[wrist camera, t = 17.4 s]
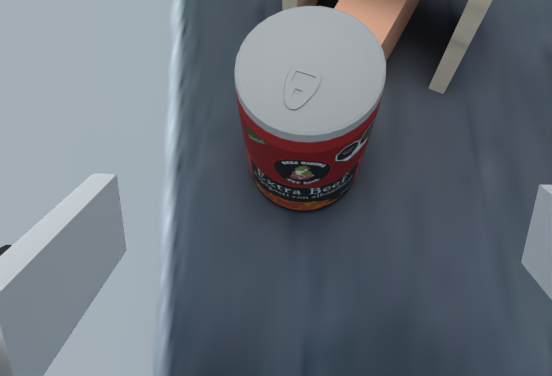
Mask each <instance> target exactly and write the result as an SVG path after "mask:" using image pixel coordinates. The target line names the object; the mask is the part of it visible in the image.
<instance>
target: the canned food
mask: <svg viewBox="0 0 552 376" xmlns="http://www.w3.org/2000/svg"><path fill="white" fill-rule="evenodd" d="M385 78H386V61H385V57H384V52H383V49H382V47H381V45H380V43H379V41H378V39H377V38H376V36H375V35H374V34H373V32H372V31H371V30H370V29H369V28H368V27H367V26H366V25H365V24H363V23H362V22H361V21H360V20H358V19H357V18H355V17H353V16H352V15H350V14H348V13H345V12H343V11H340V10H337V9H333V8H328V7H323V6H302V7H294V8H291V9H287V10H284V11H281V12H279V13H277V14H274V15H272V16H270V17H268V18H267V19H265V20H264V21H263V22H261V23H260V24H258V25H257V26H256V27H255V28H254V29H253V30H252V31H251V32H250V33H249V34H248V36H247V37H246V39H245V40H244V42H243V43H242V45H241V47H240V50H239V52H238V55H237V58H236V64H235V90H236V95H237V103H238V108H239V113H240V119H241V124H242V129H243V134H244V139H245V145H246V150H247V155H248V160H249V166H250V170H251V173H252V177H253V179H254V181H255V183H256V184H257V186H258V188H259V189H260V190H261V191H262V192H263V194H264V195H265V196H267V197H268V198H269V199H271V200H272V201H273V202H275V203H277V204H279V205H281V206H283V207H285V208H289V209H293V210H303V211H306V210H314V209H318V208H321V207H324V206H326V205H328V204H330V203H332V202H334V201H335V200H337V199H338V198H339V197H341V196H342V195H343V194H344V193H345V192H346V191H347V190H348V189H349V187H350V186H351V185H352V183H353V181H354V179H355V177H356V175H357V173H358V170H359V167H360V164H361V160H362V157H363V154H364V151H365V148H366V145H367V142H368V139H369V136H370V133H371V130H372V127H373V124H374V120H375V117H376V114H377V111H378V108H379V104H380V100H381V97H382V94H383V89H384V85H385Z"/></svg>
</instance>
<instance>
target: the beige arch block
mask: <svg viewBox="0 0 552 376" xmlns="http://www.w3.org/2000/svg"><path fill="white" fill-rule="evenodd" d="M318 1H319V0H282V8H283V11H284V10H287V9H291V8H294V7H302V6H316V4H317V3H318ZM491 2H492V0H469V1H468V3H467V5H466V7H465V9H464V11H463V14H462V16H461V18H460V20H459V22H458V24H457V27H456V29H455V31H454V33H453V35H452V38H451V40H450V42H449V44H448V46H447V48H446V51H445V53H444V55H443V57H442V59H441V61H440V64H439V66H438V68H437V70H436V72H435V74H434V77H433V79H432V81H431V83H430V85H429V87H428V89H431V90H433V91H436V92H438V93H441V94H444V92H445V90H446V88H447V87H448V85H449V83H450V81H451V79H452V77H453V75H454V73H455V71H456V69H457V67H458V65H459V64H460V62H461V60H462V58H463V56H464V54H465V52H466V50H467V48H468V46H469V44H470V42H471V41H472V39H473V37H474V35H475V33H476V31H477V29H478V27H479V25H480V23H481V21H482V20H483V18H484V16H485V14H486V12H487V10H488V8H489V6H490V4H491Z"/></svg>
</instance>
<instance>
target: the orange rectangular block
mask: <svg viewBox="0 0 552 376" xmlns="http://www.w3.org/2000/svg"><path fill="white" fill-rule="evenodd" d="M419 1H420V0H339V1H338V3H337V4H336V6H335V7H334V9H337V10H340V11H343V12H345V13H348V14H350V15H352V16H353V17H355V18H357V19H358V20H360V21H361V22H362V23H363V24H365V25H366V26H367V27H368V28H369V29H370V30H371V31H372V32H373V34H374V35H375V36H376V38H377V39H378V41H379V43H380V45H381V47H382V49H383V52H384V57H385V61H387V60H388V58H389V56H390V54H391V52H392V50H393V49H394V47H395V45H396V43H397V41H398V39H399V38H400V36H401V34H402V32H403V30H404V29H405V27H406V25H407V23H408V21H409V19H410V18H411V16H412V14H413V12H414V10H415V8H416V7H417V5H418V3H419Z"/></svg>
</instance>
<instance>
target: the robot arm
mask: <svg viewBox="0 0 552 376" xmlns="http://www.w3.org/2000/svg"><path fill="white" fill-rule="evenodd" d="M125 251H126V245H125V237H124V229H123V221H122V213H121V206H120V197H119V189H118V182H117V175H116V174H92V175H91V176H90V177H89V178H87V179H86V180H85V181H84V182H83V183H82V184H81V185H80V186H78V187H77V189H75V190H74V191H73V192H72V193H71V194H70V195H68V196H67V197H66V198H65V199H64V200H63V201H62V202H60V203H59V204H58V205H57V206H56V207H55V208H54V209H53V210H52V211H50V212H49V213H48V214H47V215H46V216H45V217H44V218H42V219H41V220H40V221H39V222H38V223H37V224H36V225H35V226H34V227H32V228H31V229H30V230H29V231H28V232H27V233H26V234H25V235H23V236H22V237H21V238H20V239H19V240H18V241H17V242H15V243H14V244H13V245H5V246H3V247H1V248H0V376H43V375H44V373H45V372H46V370H47V369H48V367H49V366H50V364H51V363H52V361H53V360H54V358H55V357H56V355H57V354H58V352H59V351H60V349H61V348H62V346H63V345H64V343H65V342H66V340H67V339H68V337H69V336H70V334H71V333H72V331H73V330H74V328H75V327H76V325H77V324H78V322H79V321H80V319H81V318H82V316H83V315H84V313H85V312H86V310H87V309H88V307H89V306H90V304H91V303H92V301H93V300H94V298H95V297H96V295H97V294H98V292H99V291H100V289H101V288H102V286H103V285H104V283H105V282H106V280H107V279H108V277H109V276H110V274H111V273H112V271H113V269H114V268H115V267H116V265H117V264H118V262H119V261H120V259H121V258H122V256H123V255H124V253H125ZM521 263H522V264H523V265H524V267H525V268H526V269H527V270H528V272H529V273H530V274H531V275H532V276H533V278H534V279H535V280H536V281H537V283H538V284H539V285H540V286H541V287H542V289H543V290H544V291H545V292H546V294H547V295H548V296H549V297H550V299H551V300H552V185H539V188H538V192H537V197H536V201H535V205H534V210H533V214H532V218H531V222H530V227H529V231H528V235H527V239H526V244H525V248H524V252H523V257H522V261H521Z"/></svg>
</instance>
